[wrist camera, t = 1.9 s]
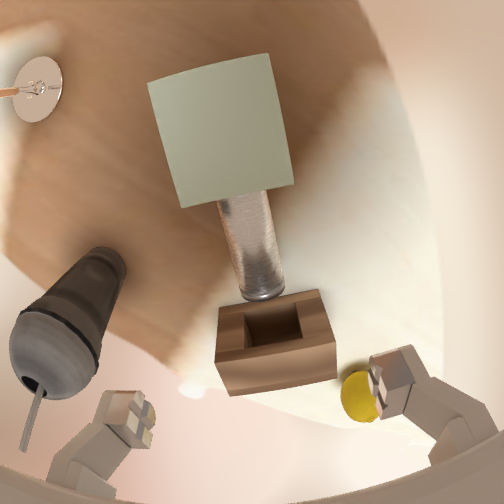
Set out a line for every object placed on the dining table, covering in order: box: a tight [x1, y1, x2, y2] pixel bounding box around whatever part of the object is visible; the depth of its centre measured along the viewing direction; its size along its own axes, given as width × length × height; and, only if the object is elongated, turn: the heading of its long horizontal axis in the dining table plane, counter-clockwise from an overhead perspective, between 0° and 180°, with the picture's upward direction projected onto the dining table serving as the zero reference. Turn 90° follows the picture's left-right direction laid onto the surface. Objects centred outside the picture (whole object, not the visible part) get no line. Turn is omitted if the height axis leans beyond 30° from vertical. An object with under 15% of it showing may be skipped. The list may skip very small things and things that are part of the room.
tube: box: [216, 190, 285, 302], centre depth 21 cm, size 16×4×4 cm, turn 12°
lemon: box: [341, 371, 379, 423], centre depth 33 cm, size 6×6×8 cm
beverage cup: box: [9, 247, 126, 452], centre depth 19 cm, size 7×7×20 cm
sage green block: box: [147, 53, 295, 208], centre depth 19 cm, size 8×7×7 cm
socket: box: [214, 289, 337, 396], centre depth 28 cm, size 5×10×8 cm, turn 102°
